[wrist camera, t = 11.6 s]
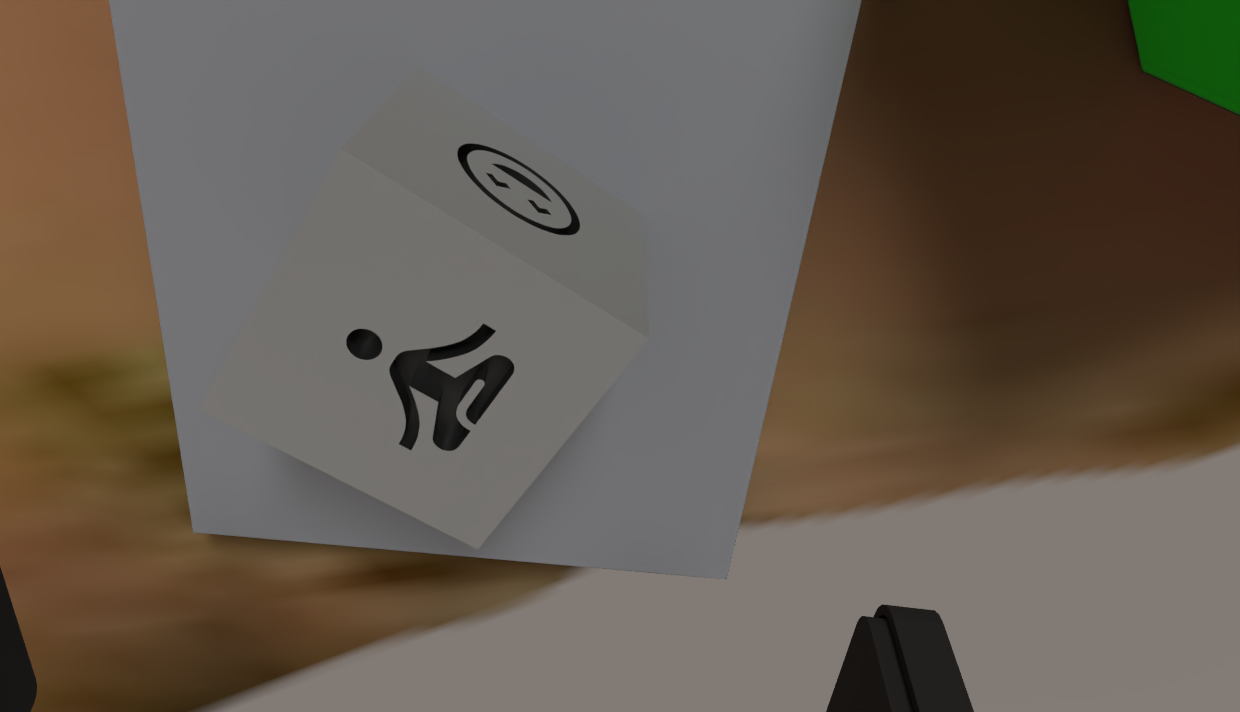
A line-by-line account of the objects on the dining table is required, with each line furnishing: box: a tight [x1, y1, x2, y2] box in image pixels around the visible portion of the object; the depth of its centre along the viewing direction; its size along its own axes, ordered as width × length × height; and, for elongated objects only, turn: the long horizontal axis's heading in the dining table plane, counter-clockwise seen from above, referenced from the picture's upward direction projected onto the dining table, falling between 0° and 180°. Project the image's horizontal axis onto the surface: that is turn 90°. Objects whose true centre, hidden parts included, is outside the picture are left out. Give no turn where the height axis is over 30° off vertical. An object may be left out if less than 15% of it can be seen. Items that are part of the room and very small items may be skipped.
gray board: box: [109, 0, 862, 579], centre depth 19 cm, size 13×15×1 cm
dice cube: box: [198, 65, 649, 549], centre depth 16 cm, size 5×5×5 cm
